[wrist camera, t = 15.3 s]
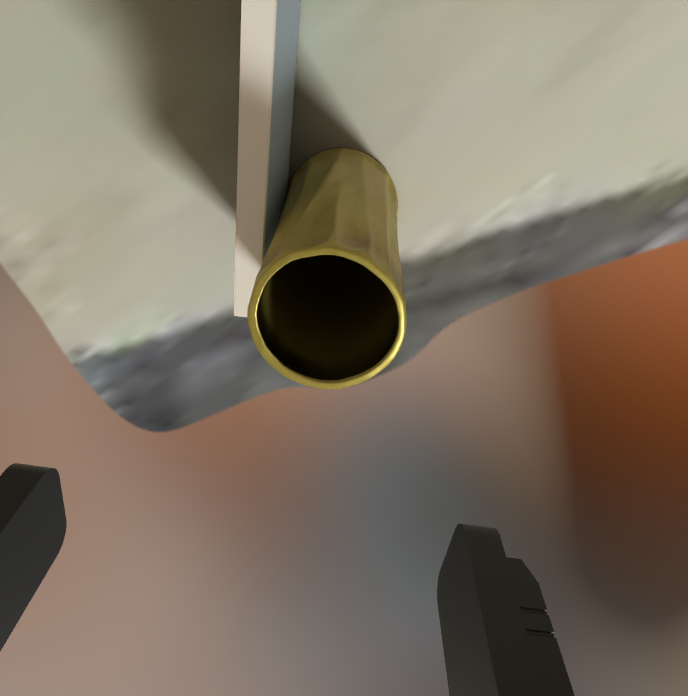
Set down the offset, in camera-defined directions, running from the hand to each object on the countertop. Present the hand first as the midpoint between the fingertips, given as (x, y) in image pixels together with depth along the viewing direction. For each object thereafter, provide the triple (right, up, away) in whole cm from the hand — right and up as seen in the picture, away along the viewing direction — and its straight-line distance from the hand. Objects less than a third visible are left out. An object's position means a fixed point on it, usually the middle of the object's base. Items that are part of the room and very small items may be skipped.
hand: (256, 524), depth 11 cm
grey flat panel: (-1, +15, +17) cm, 23 cm away
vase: (+2, +12, +19) cm, 22 cm away
